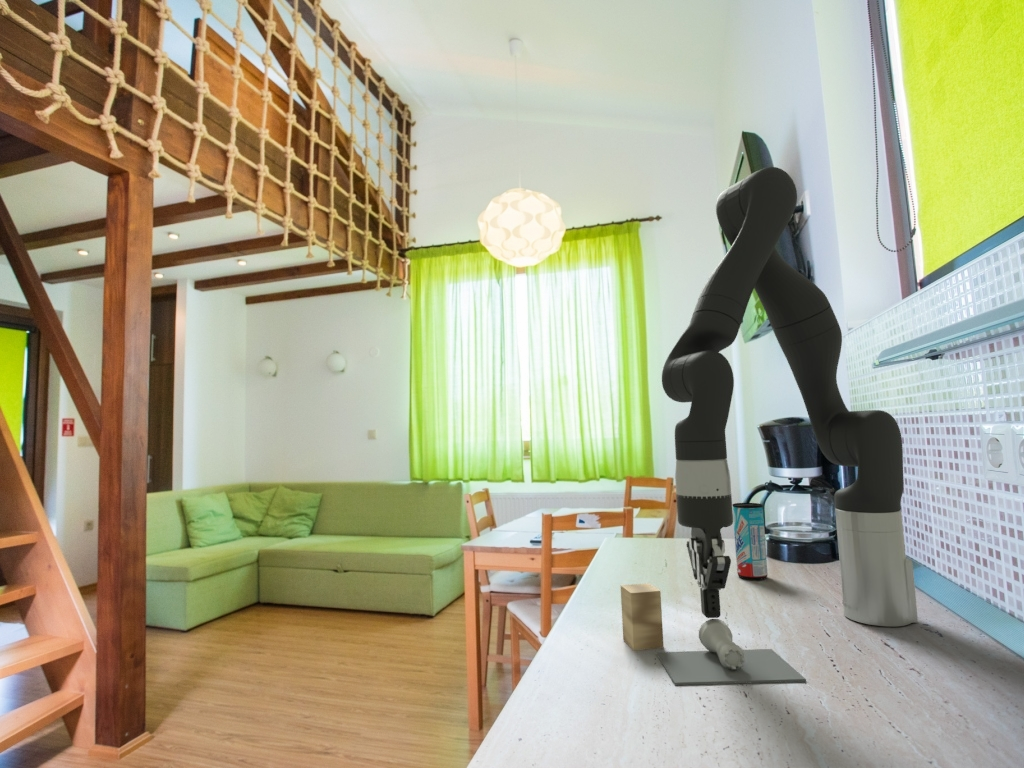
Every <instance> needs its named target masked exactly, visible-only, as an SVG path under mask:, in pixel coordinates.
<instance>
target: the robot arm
mask: <svg viewBox="0 0 1024 768" xmlns="http://www.w3.org/2000/svg"><path fill="white" fill-rule="evenodd" d="M716 199H717V200H716V203H715V212H716V213H715V214H716V217H717V221H718V223H719V227H720V229H721V231H722V233H723V235H724V237H725V238H726V241H727V243H728V244H729V245H730V248H729V250H728V251H727V253H726V254H725V255H724V257H723V258H722V259H721V260H720V262H719V263H718V265H717V266H716V267H715V268H714V270H713V271H712V273H711V274H710V276H709V277H708V279H707V281H706V283H705V284H704V286H703V288H702V290H701V291H700V294H699V297H698V299H697V302H696V305H695V308H694V310H693V313H692V316H691V318H690V321H689V325H687V327H686V329H685V330H684V332H682V334H681V336H679V339H678V340H677V342H676V343H675V345H674V346H673V348H671V349H672V350H671V351H670V353H669V354H668V356H667V358H666V360H665V362H664V365H663V367H662V368H663V369H662V372H661V384H662V388H663V391H664V394H666V396H667V397H668V398H669V399H671V400H672V401H675V402H678V403H690V408H689V409H690V410H689V413H688V416H686V417H685V418H684V419H682V420H679V421H678V422H677V423H676V425H675V426H674V447H675V474H674V479H675V495H676V511H677V512H676V513H677V522H678V524H679V525H680V526H682V527H685V528H689V529H690V528H691V532H690V537H689V538H688V540H687V541H686V548H687V553H688V556H689V557H688V558H689V560H690V564H691V569H692V573H693V574H692V575H693V577H694V580H695V581H697V582H696V583H697V586H698V588H699V592H700V606H701V613H702V614H703V616H704V617H705V618H707V619H718V618H720V617H721V604H720V603H721V601H720V591H721V589H723V590H724V589H725V588H726V586H727V580H728V576H729V573H730V568H731V563H732V560H731V557H730V556H729V555H724V554H726V553H725V552H726V545H725V541H724V539H722V538H723V537H722V532H721V530H722V528H727V527H728V528H729V527H731V526H732V525H734V520H733V498H732V497H733V495H732V485H731V484H732V483H731V482H732V481H731V474H730V469H729V464H728V453H727V452H728V451H727V437H726V427H727V422H728V419H729V414H730V409H731V405H732V404H731V403H732V397H733V393H734V386H735V377H734V372H733V369H732V366H731V364H730V362H729V360H728V359H727V357H725V355H723V354H722V353H721V351H723V350H725V349H727V348H728V347H730V346H731V345H732V344H733V343H734V342H735V340H736V338H737V337H738V334H739V331H740V328H741V325H742V322H743V320H744V318H745V317H744V316H745V313H746V311H747V307H748V305H749V302H750V299H751V296H752V294H753V291H755V293H756V294H757V297H758V299H759V302H760V303H761V306H762V307H763V310H764V312H765V314H766V317H767V319H768V322H769V325H770V327H771V329H772V331H773V334H774V336H775V338H776V341H777V343H778V344H779V347H780V349H781V351H782V352H783V355H784V357H785V358H786V361H787V363H788V366H789V368H790V370H791V373H792V375H793V377H794V381H795V382H796V385H797V387H798V389H799V392H800V394H801V397H802V400H803V403H804V406H805V409H806V412H807V415H808V417H809V421H810V424H811V425H810V426H811V428H812V431H813V435H814V437H815V439H816V443H817V444H818V447H819V449H820V451H821V453H822V454H823V456H824V457H825V458H826V459H827V460H828V462H830V463H832V464H834V465H837V466H842V467H854V468H855V467H857V476H856V480H855V481H854V482H853V483H852V484H851V485H848V486H846V487H843V488H840V489H838V490H836V491H835V493H834V497H833V498H834V507H835V509H834V511H835V521H836V534H837V535H836V536H837V546H838V556H839V557H838V558H839V570H840V580H841V581H840V582H841V595H842V606H843V615H844V616H845V617H846V618H848V619H849V620H851V621H855V622H858V623H862V624H866V625H870V626H871V625H872V626H878V627H879V626H880V627H891V628H892V627H904V626H907V625H910V624H912V623H913V624H914V623H915V624H916V623H918V622H919V618H918V607H917V597H916V586H915V575H914V564H913V561H912V559H910V558H908V557H906V556H907V555H906V545H905V537H904V535H905V534H904V527H903V515H902V507H901V506H902V503H901V501H902V498H903V493H904V487H905V482H904V481H905V480H904V457H903V456H904V454H903V453H904V451H903V449H904V448H903V439H902V432H901V429H900V426H899V425H898V422H897V420H896V419H895V418H894V416H893V415H892V414H890V413H889V412H887V411H884V410H879V409H870V410H869V409H868V410H851V411H850V410H849V409H848V408H847V407H846V404H845V402H844V400H843V398H842V395H841V392H840V389H839V386H838V382H837V373H838V366H839V362H840V357H841V351H842V347H843V346H842V345H843V344H842V343H843V335H842V334H843V333H842V330H841V327H840V324H839V321H838V319H837V316H836V315H835V312H834V310H833V307H832V306H831V305H832V304H831V303H830V301H829V299H828V297H827V295H826V294H825V293H824V291H822V289H820V288H819V287H818V286H817V285H816V284H815V283H814V282H813V281H811V280H810V279H808V278H807V277H806V276H805V275H803V274H802V273H801V272H799V271H798V270H796V269H795V268H794V267H792V266H791V265H790V264H789V263H788V262H787V261H786V260H785V259H784V258H783V256H782V255H780V253H779V252H778V250H777V248H776V245H777V244H778V242H779V240H780V238H781V237H782V235H783V233H784V231H785V229H786V228H787V226H788V224H789V222H790V220H791V219H792V216H793V214H794V212H795V209H796V208H797V202H798V201H797V200H798V191H797V186H796V184H795V181H794V180H793V179H792V177H791V175H789V173H788V172H787V171H785V170H783V169H782V168H780V167H776V166H767V167H764V168H761V169H759V170H757V171H754V172H752V173H751V174H749V175H747V176H745V177H744V178H742V179H741V180H738V181H737V182H735V183H734V184H732V185H730V186H728V187H727V188H726V189H723V191H722V192H721V193H720V194H719V195H718V197H717V198H716Z"/></svg>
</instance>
